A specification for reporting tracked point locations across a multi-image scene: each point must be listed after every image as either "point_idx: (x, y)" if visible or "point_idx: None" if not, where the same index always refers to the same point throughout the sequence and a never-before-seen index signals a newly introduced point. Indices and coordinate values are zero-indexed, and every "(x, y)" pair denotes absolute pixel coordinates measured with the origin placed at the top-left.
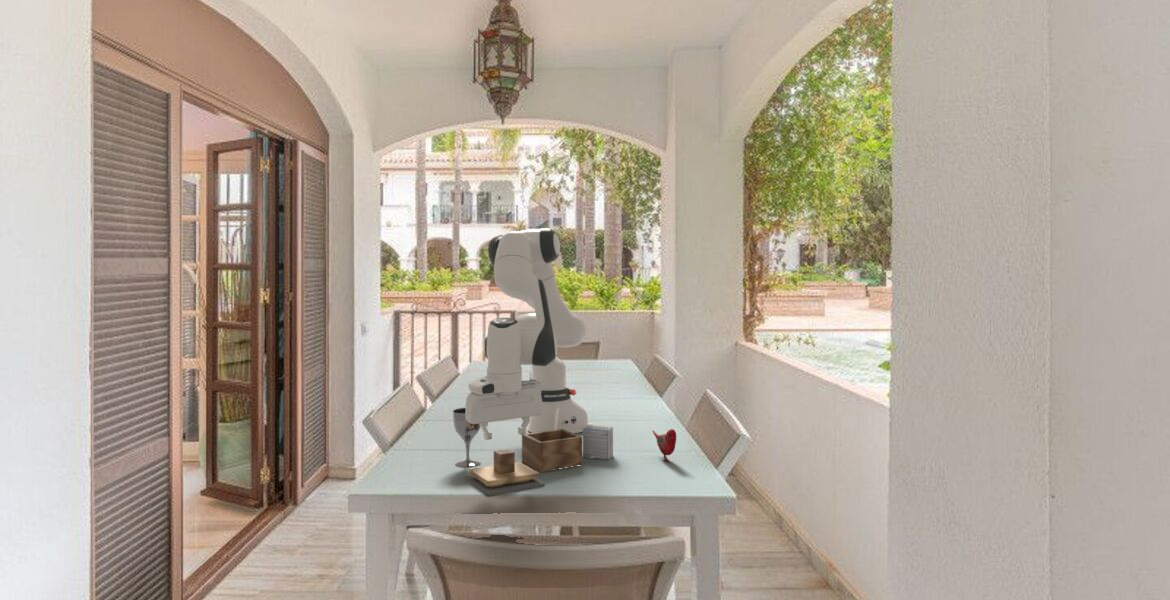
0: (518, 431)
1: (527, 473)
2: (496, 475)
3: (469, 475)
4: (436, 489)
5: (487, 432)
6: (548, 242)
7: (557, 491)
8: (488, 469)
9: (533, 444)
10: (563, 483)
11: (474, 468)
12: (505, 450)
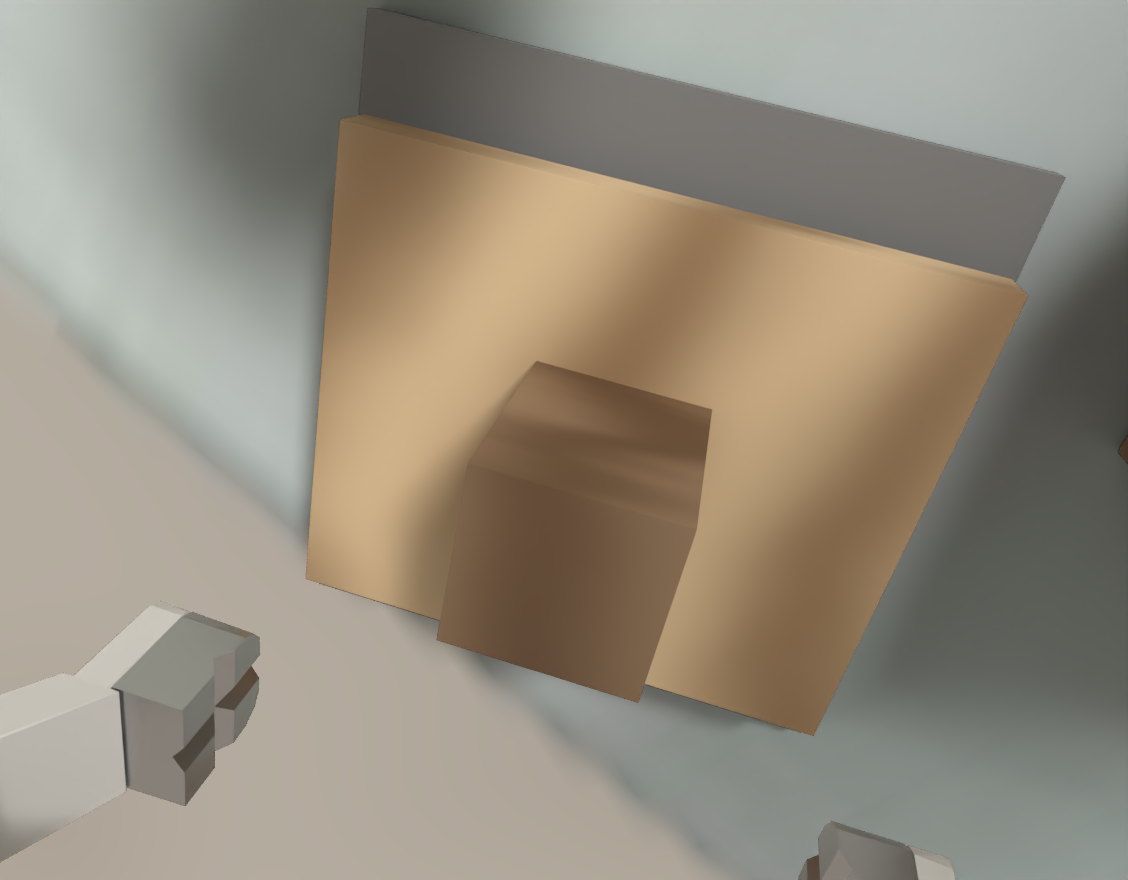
0: (831, 862)
1: (719, 672)
2: (456, 512)
3: (416, 36)
4: (26, 143)
5: (88, 790)
6: None
7: (766, 841)
8: (506, 297)
9: None
10: (961, 783)
11: (399, 139)
12: (607, 565)
